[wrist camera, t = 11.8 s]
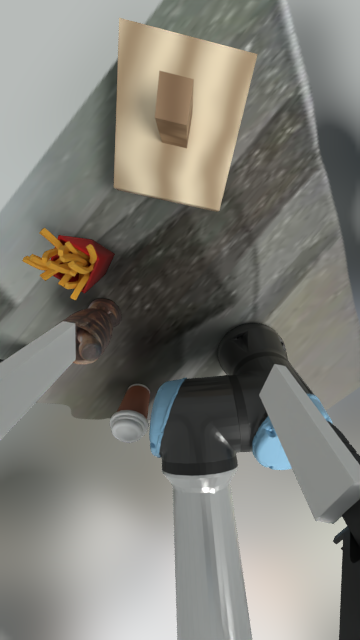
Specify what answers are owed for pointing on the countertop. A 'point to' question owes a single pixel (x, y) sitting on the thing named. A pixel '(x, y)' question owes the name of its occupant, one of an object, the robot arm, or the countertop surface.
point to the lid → (177, 114)
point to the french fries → (72, 262)
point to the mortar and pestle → (94, 329)
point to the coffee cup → (132, 414)
